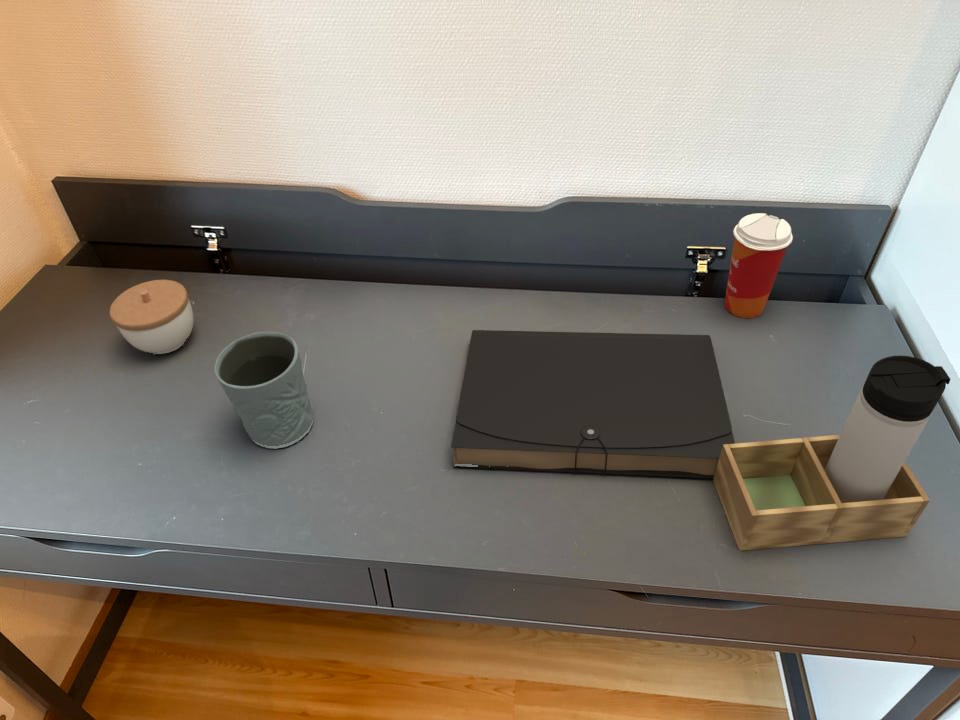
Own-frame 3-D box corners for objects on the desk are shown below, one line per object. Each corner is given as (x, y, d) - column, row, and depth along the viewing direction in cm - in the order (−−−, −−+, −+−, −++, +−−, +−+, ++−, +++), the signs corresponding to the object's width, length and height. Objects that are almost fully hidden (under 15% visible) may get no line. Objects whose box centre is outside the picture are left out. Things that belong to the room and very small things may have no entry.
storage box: (866, 467, 83) (885, 430, 78) (906, 536, 76) (930, 500, 71) (712, 480, 82) (722, 444, 78) (739, 551, 76) (752, 515, 71)
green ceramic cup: (276, 466, 88) (249, 400, 79) (226, 431, 92) (195, 365, 84) (335, 416, 93) (315, 349, 85) (284, 386, 98) (261, 320, 90)
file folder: (450, 446, 83) (473, 322, 101) (453, 469, 86) (474, 344, 104) (739, 458, 79) (709, 327, 97) (733, 481, 82) (704, 350, 100)
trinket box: (166, 312, 112) (144, 263, 105) (218, 328, 108) (198, 279, 102) (114, 354, 105) (87, 305, 99) (168, 373, 101) (143, 324, 95)
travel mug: (887, 524, 76) (965, 396, 63) (825, 525, 77) (888, 398, 63) (866, 477, 81) (933, 349, 67) (807, 478, 81) (862, 351, 68)
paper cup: (731, 284, 109) (749, 205, 100) (779, 302, 105) (803, 222, 96) (707, 310, 105) (725, 230, 95) (757, 330, 101) (780, 249, 92)
